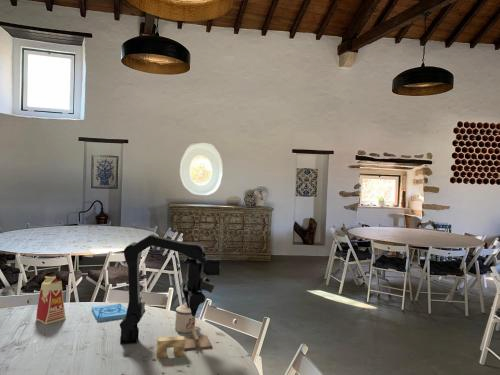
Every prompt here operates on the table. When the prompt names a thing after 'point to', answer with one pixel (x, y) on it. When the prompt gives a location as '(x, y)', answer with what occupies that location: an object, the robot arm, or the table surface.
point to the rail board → (197, 342)
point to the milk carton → (51, 301)
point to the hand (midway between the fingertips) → (191, 311)
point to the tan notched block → (170, 346)
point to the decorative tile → (109, 312)
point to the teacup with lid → (184, 319)
